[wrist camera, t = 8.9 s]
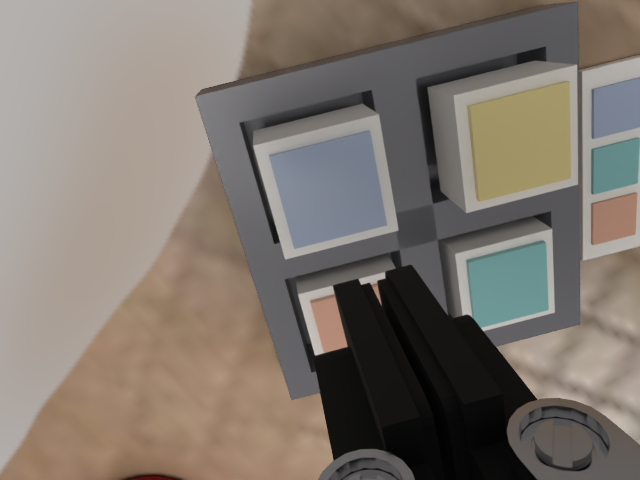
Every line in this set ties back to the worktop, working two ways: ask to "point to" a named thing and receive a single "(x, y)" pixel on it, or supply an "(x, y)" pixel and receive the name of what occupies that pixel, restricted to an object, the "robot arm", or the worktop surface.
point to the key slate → (326, 179)
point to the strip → (609, 157)
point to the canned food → (152, 478)
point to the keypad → (390, 166)
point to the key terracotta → (334, 298)
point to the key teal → (499, 273)
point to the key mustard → (506, 134)
